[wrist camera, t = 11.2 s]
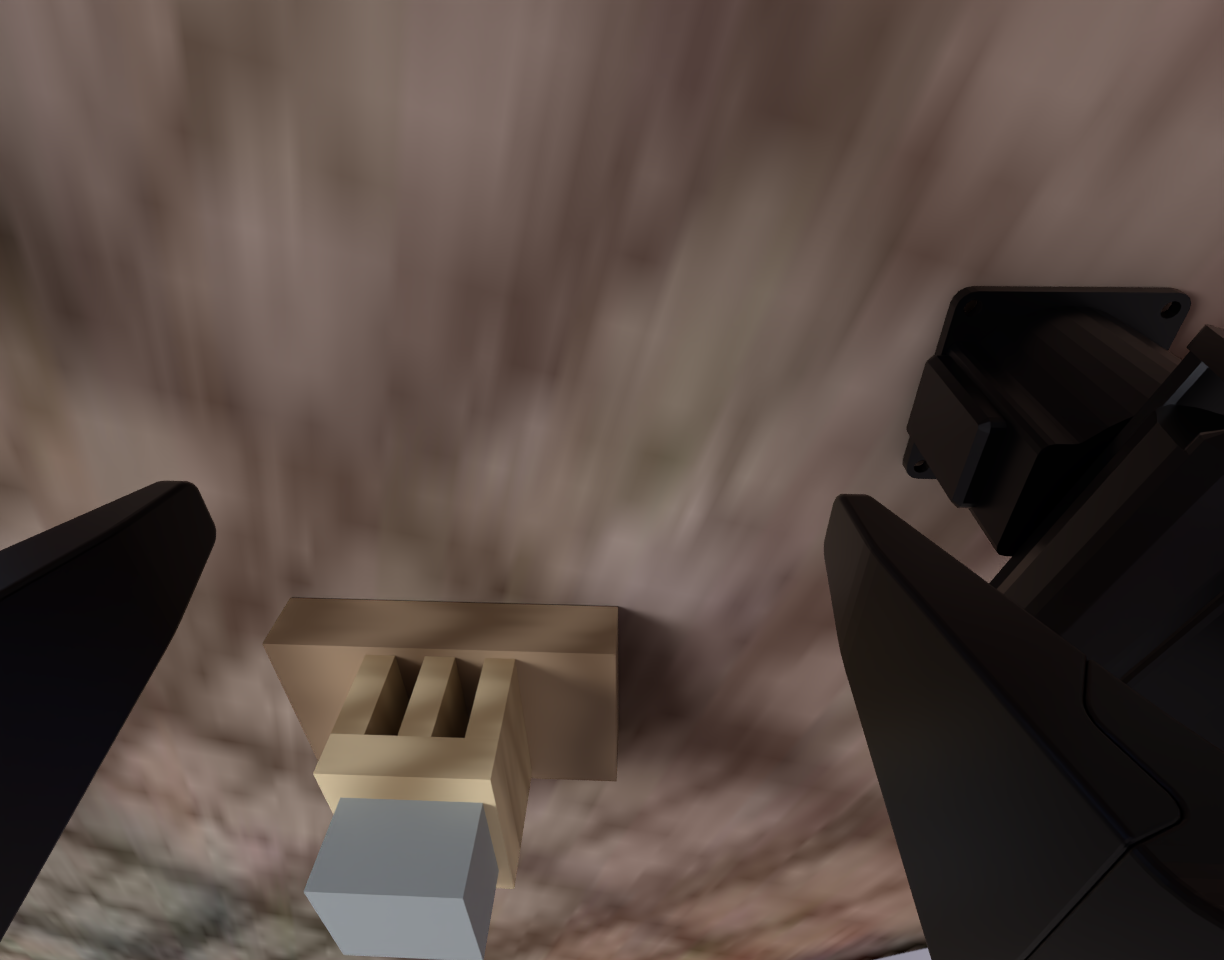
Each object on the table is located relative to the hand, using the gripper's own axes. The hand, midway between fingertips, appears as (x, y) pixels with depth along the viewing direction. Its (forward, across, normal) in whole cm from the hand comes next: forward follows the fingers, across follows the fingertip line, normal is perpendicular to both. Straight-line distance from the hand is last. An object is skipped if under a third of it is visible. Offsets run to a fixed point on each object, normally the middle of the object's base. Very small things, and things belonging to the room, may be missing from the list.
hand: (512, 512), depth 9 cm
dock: (+12, +6, +19) cm, 23 cm away
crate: (+4, +6, +19) cm, 20 cm away
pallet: (+10, +6, +19) cm, 22 cm away
